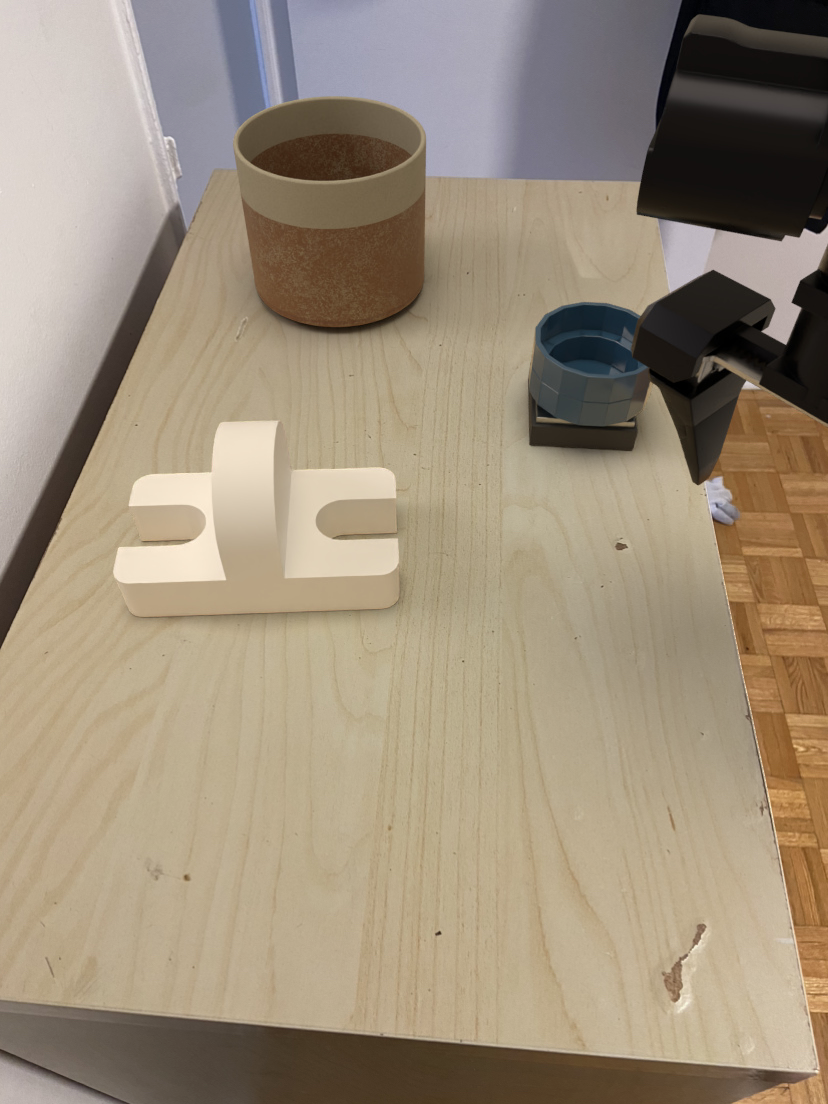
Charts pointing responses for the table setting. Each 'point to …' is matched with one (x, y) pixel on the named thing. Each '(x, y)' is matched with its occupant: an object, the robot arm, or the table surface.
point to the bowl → (588, 365)
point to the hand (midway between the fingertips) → (772, 528)
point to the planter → (334, 208)
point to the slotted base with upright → (260, 534)
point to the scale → (577, 431)
